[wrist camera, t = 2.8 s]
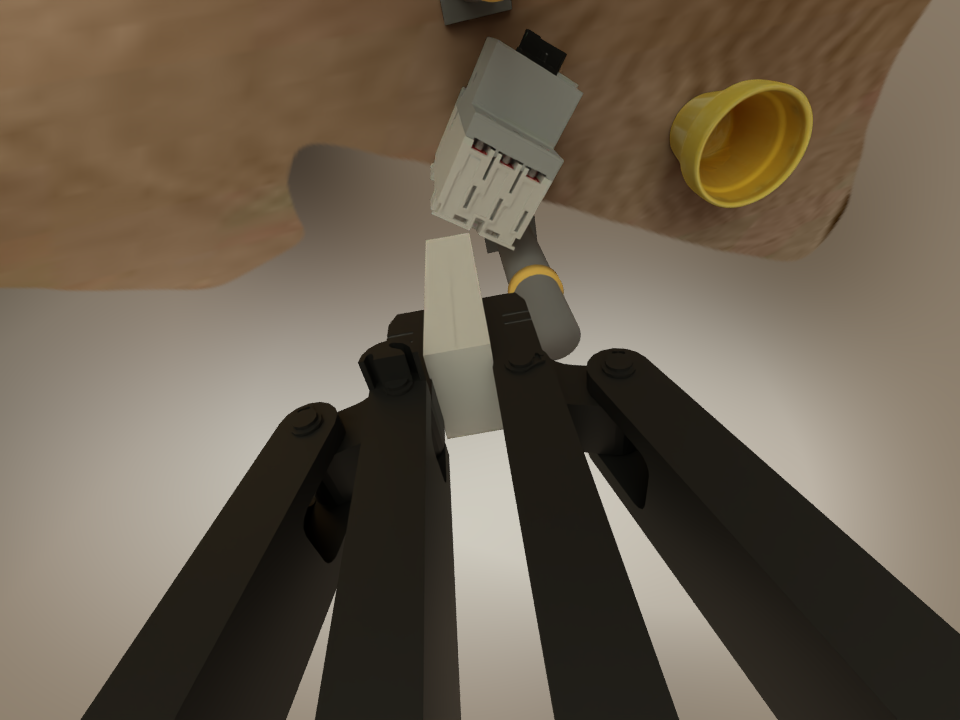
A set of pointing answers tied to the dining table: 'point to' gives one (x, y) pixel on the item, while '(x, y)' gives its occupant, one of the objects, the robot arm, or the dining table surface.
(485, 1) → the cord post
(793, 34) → the dining table surface
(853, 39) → the dining table surface
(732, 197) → the plant pot
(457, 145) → the circuit breaker
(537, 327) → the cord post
